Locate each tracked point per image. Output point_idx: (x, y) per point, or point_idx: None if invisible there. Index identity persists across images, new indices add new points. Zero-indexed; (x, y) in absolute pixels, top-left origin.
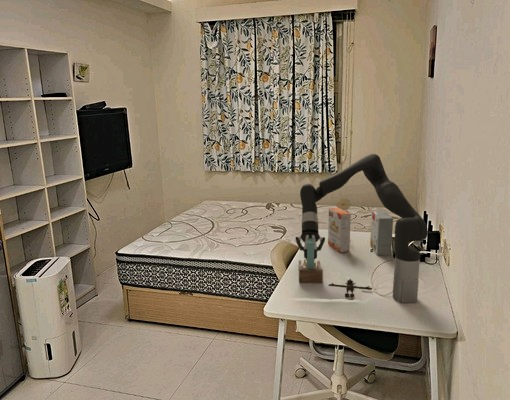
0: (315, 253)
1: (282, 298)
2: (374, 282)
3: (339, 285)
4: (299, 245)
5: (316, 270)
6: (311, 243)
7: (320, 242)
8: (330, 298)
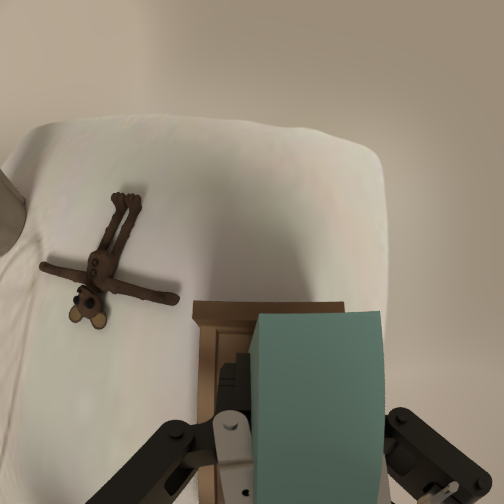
0: (235, 377)
1: (362, 205)
2: (18, 338)
3: (133, 286)
4: (423, 427)
5: (234, 302)
6: (309, 317)
7: (151, 485)
8: (193, 207)
